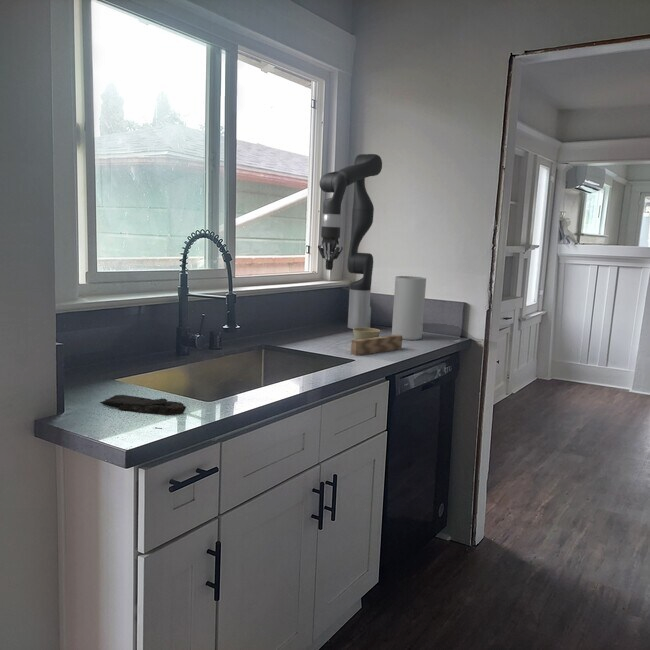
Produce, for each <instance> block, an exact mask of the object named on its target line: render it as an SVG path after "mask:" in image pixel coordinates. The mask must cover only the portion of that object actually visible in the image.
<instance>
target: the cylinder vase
mask: <svg viewBox="0 0 650 650" xmlns="http://www.w3.org/2000/svg"><path fill="white" fill-rule="evenodd" d="M394 280H395V281H394V294H393V295H394V296H393V310H392V324H391V335H401V336H402V341H403V340H404V341H417V340H421V339H422V337H423V327H424V314H425V300H426V284H427V278H426V277H421V276H412V275H407V276H406V275H397V276H395V279H394Z"/></svg>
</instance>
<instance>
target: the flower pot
mask: <svg viewBox="0 0 650 650" xmlns="http://www.w3.org/2000/svg"><path fill="white" fill-rule="evenodd" d="M352 333H353V337H354V340H358V339H366V338H373V337H380V333H381V330H380V329H378V328H373V327H370V328H354V329H352Z"/></svg>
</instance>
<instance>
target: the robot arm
mask: <svg viewBox="0 0 650 650" xmlns="http://www.w3.org/2000/svg"><path fill="white" fill-rule="evenodd" d="M382 168H383V160H382V158H381V156H380V155H378V154H376V153H363V154H358V155H356V157H355V159H354V163H353V164H352V165H349V166H345V167H343V168H340V169H339V170H337V171H332V172H327V173H325V174H323V175H322V176H321V177H320V180H319V188H320V189H321V191H322V192H324V193H331V194H332V193H333V195H332V196H331V197H330V198H326V199H324V200H323V205H322V217H321V231H320V232H321V233H320V234H321V235H320V237H321V238H322V241H321V244H319V245H318V246H317V250H318V251H319V254H320V256H321V258H322V259H324V260H325V270H327V271H332V270H333V267H334V266H333V265H334V261H335V260H337V259H338V258H339V256H340V254H341V253H342V251H343V246H340V242H339V239H340V238H341V226H342V223H341V222H342V218H341V213H342V212H341V211H342V202H343V199H344V195H345V192H346V190H347V187H348V186H350V185H352V184H353V203H352V211H351V212H352V213H351V227H350V228H351V230H350V241H349V242H350V243H349V248H348V255H347V262H346V263H347V271H348V273H350V274H355V275H356V274H357V275H362V277H361V278H360V279H357V280H354V281H352V282H350V283H349V295H348V314H347V315H348V316H347V329H351V330H353V329H354V328H371V319H372V317H371V316H372V307H371V290H372V288H371V287H372V281H373V280H372V279H373V271H374V256H373V254H372V253H369V252H359V251H358V250H359V247H360V244H361V242H362V240H363V238H364V237H365V235H366V234H367V233H368V231H369V230H370V228H371V227H372V225H373V223H374V213H375V211H374V210H375V208H374V203H373V201H372V199H371V197H370V196H369V194H368V191H367V188H366V178H369V177H376V176H378V175H379V174H380V173H381V172H382Z"/></svg>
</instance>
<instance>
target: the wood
mask: <svg viewBox="0 0 650 650" xmlns="http://www.w3.org/2000/svg"><path fill="white" fill-rule="evenodd" d="M99 403H100V404H101V403H103V405H106V406H109V407H114V408H118V410H119V411H123V412H132V413H138V414H150V415H151V414H152V415H153V414H154V415H161V416H163V415H164V416H175V415H181V414H183V413H184V412H185V410H186V408H187V406H186V405H184V403H182V402H180V401H172V400H168V399H166V398H157V399H153V398H147V397H141V396H134V395H127V394H115V395H113V396H111V397H109V398H107V399H105V400H103V401H100V402H99Z"/></svg>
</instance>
